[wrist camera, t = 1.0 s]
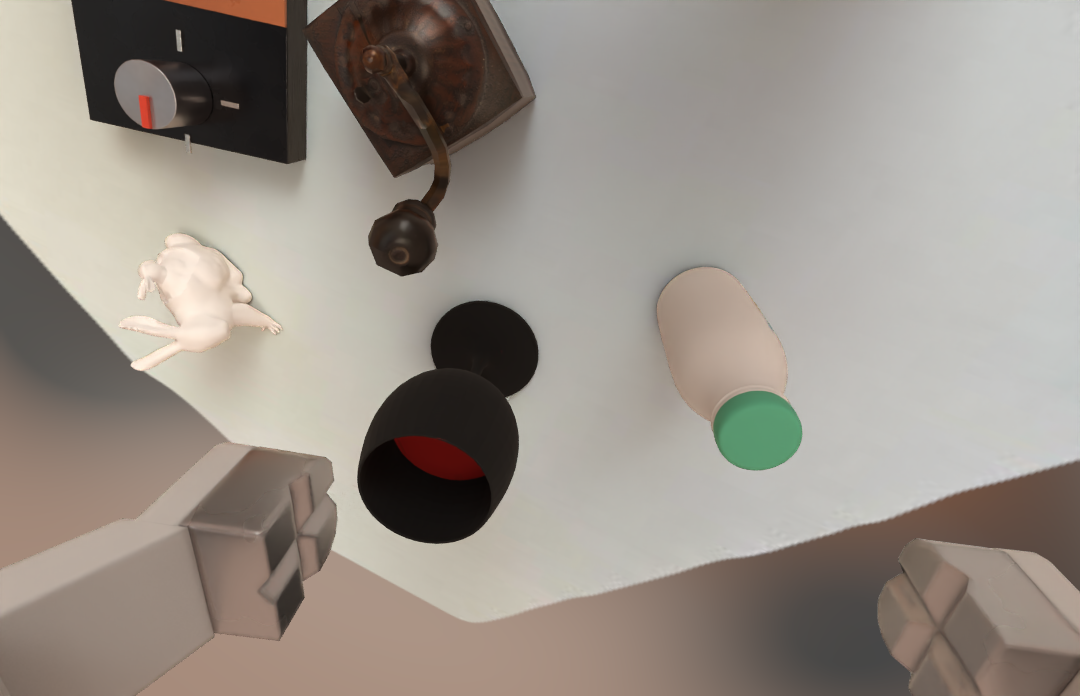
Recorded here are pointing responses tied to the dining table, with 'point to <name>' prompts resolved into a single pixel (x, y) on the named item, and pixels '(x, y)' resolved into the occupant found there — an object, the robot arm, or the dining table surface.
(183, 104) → the hob knob
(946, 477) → the dining table surface
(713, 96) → the dining table surface
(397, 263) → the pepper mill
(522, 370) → the wine glass
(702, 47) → the dining table surface
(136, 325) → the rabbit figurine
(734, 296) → the milk bottle
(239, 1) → the heating pad
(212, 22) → the plate
